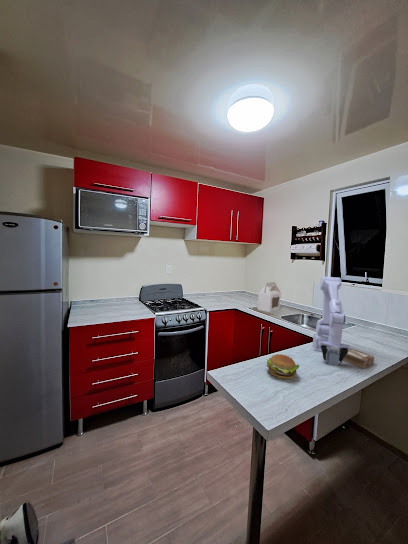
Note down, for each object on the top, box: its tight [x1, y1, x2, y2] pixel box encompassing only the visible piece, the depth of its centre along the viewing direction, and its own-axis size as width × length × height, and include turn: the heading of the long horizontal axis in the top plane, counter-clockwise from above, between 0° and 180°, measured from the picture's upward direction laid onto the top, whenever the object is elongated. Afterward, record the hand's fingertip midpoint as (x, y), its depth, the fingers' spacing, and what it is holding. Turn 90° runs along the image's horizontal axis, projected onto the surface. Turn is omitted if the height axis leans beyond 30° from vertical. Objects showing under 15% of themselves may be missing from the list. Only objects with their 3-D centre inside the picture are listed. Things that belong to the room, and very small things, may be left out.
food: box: [266, 353, 300, 380], centre depth 105 cm, size 14×14×8 cm
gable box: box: [257, 281, 282, 313], centre depth 231 cm, size 22×13×28 cm, turn 136°
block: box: [325, 349, 340, 367], centre depth 119 cm, size 4×4×6 cm
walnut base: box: [338, 347, 375, 370], centre depth 123 cm, size 12×12×4 cm
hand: (332, 360), depth 119 cm, fingers open, 7 cm apart
